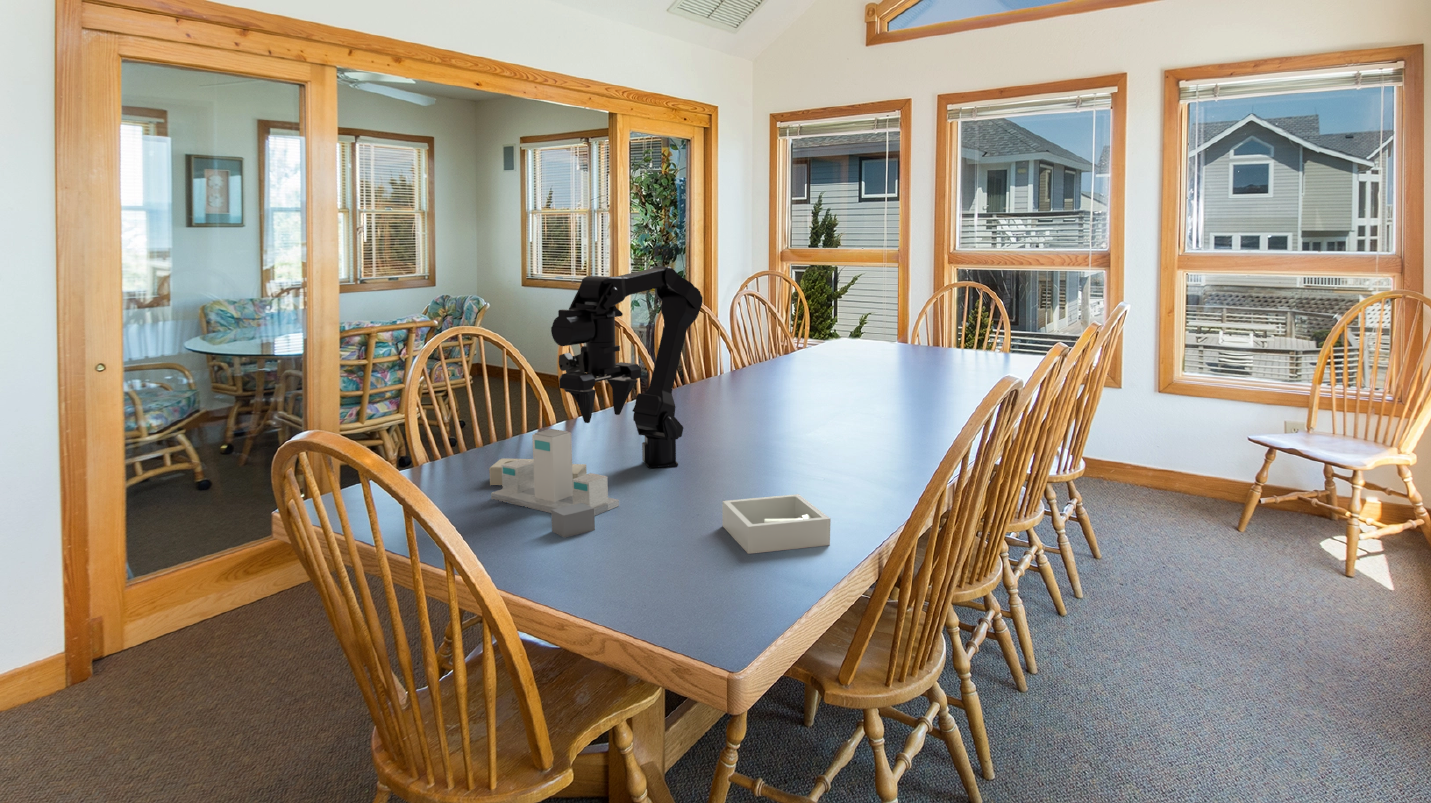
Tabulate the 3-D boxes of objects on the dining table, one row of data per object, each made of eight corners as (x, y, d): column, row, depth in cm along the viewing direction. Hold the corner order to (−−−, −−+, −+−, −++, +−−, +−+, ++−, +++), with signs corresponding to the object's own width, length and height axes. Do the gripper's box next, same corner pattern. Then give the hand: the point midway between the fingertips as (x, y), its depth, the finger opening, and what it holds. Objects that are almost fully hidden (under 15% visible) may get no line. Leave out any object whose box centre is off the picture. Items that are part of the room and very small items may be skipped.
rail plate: (529, 486, 181) (527, 456, 180) (619, 505, 169) (618, 473, 168) (491, 498, 173) (489, 467, 172) (582, 520, 161) (581, 486, 159)
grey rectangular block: (582, 524, 159) (581, 502, 158) (594, 530, 156) (594, 508, 155) (552, 532, 155) (551, 509, 154) (564, 538, 152) (563, 515, 151)
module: (553, 490, 174) (551, 428, 172) (573, 495, 171) (571, 431, 169) (534, 497, 170) (531, 433, 167) (554, 502, 167) (551, 436, 165)
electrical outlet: (577, 469, 180) (488, 467, 181) (578, 489, 180) (489, 486, 182) (586, 459, 187) (500, 457, 188) (586, 479, 187) (501, 476, 189)
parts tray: (798, 518, 162) (798, 494, 161) (829, 545, 148) (830, 518, 148) (722, 525, 158) (722, 500, 157) (748, 553, 145) (748, 526, 144)
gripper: (600, 333, 191) (602, 406, 194) (536, 343, 176) (539, 422, 179) (642, 337, 185) (643, 412, 188) (580, 347, 170) (582, 429, 173)
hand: (602, 418), depth 182 cm, fingers open, 9 cm apart
